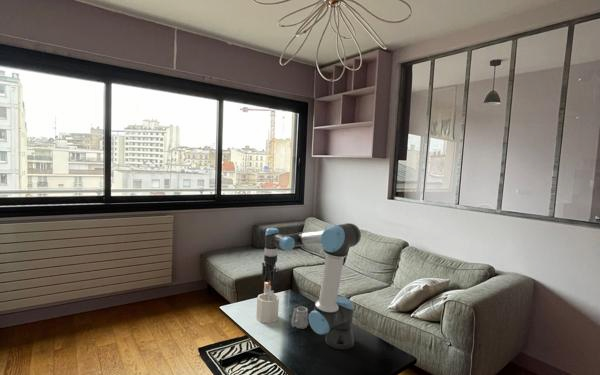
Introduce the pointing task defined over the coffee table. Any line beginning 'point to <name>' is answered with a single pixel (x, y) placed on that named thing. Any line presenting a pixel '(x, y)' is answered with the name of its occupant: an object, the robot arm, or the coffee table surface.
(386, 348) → the coffee table surface
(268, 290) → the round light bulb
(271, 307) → the octagonal white cup
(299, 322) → the mug
